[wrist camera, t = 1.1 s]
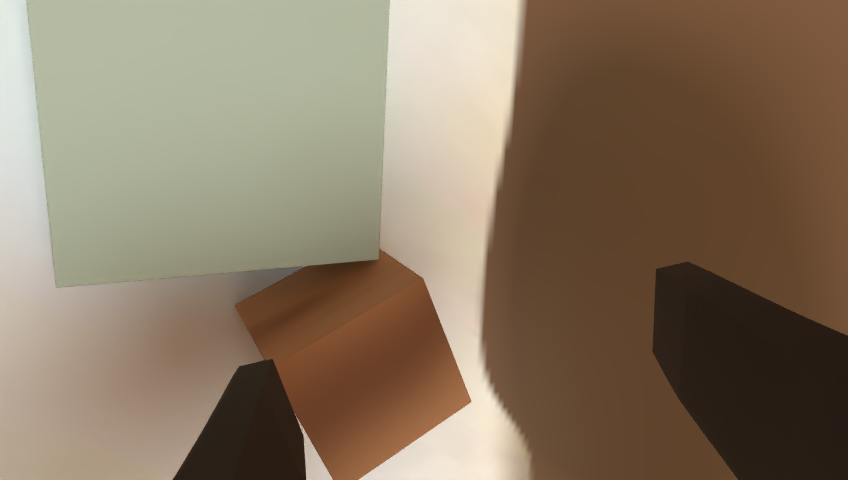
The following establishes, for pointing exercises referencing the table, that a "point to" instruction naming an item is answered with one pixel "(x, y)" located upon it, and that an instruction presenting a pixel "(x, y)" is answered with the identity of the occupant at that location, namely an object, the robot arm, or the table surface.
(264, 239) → the sage green box
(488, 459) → the table surface
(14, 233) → the table surface
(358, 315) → the walnut cube
